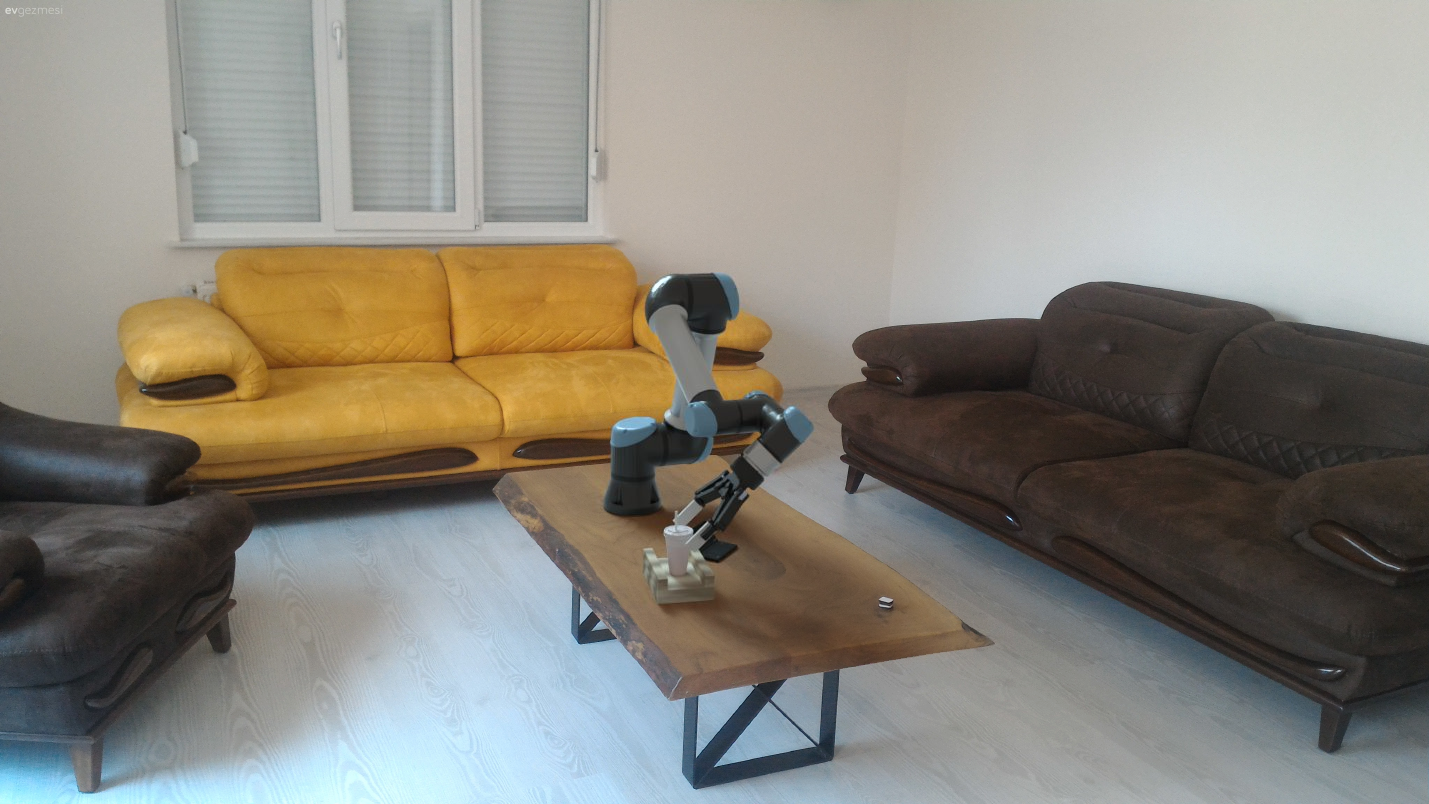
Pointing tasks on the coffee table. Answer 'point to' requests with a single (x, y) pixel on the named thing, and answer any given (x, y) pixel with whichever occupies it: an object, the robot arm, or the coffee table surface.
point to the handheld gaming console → (714, 547)
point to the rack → (678, 579)
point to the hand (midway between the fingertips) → (683, 536)
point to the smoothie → (677, 547)
